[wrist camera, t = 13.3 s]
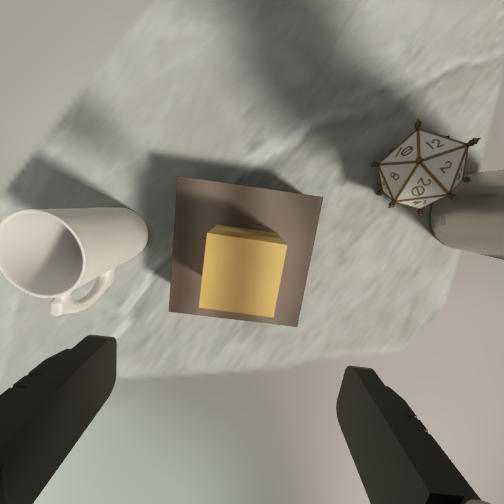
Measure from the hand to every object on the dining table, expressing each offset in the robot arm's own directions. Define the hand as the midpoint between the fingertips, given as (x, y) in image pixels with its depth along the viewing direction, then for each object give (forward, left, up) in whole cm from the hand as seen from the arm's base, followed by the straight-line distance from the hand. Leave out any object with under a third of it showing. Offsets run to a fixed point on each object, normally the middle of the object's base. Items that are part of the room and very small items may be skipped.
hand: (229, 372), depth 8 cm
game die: (-17, -11, -22) cm, 30 cm away
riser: (0, 0, -22) cm, 22 cm away
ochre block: (0, 0, -16) cm, 16 cm away
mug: (+15, +2, -22) cm, 27 cm away
